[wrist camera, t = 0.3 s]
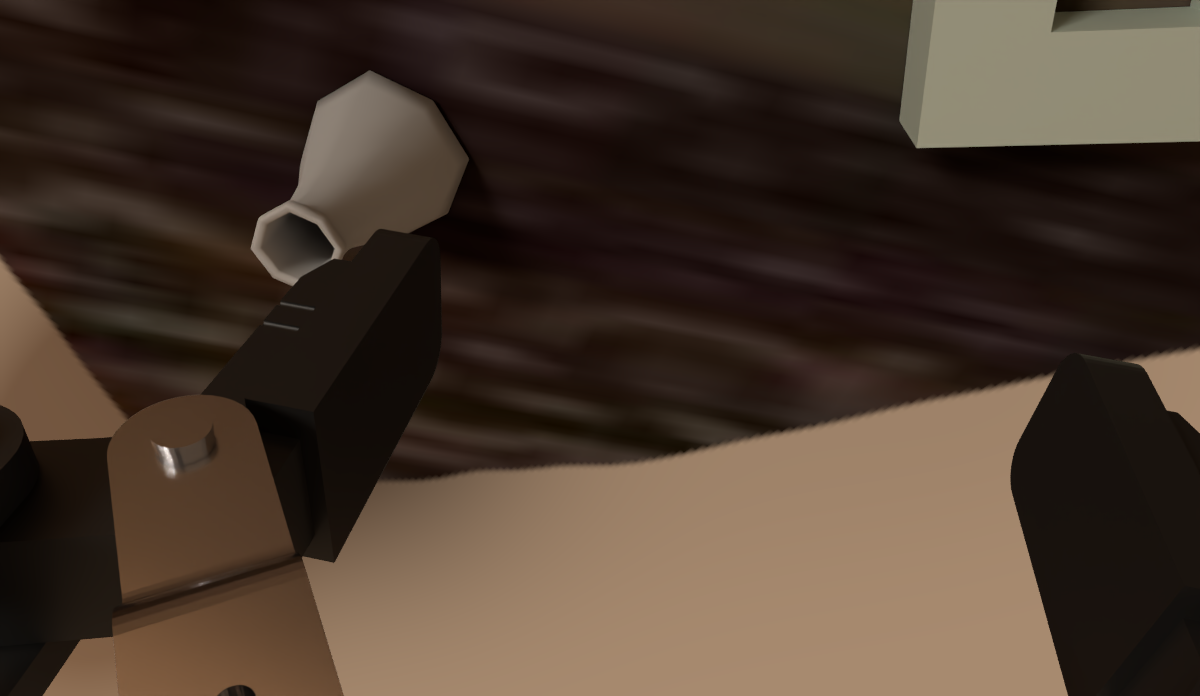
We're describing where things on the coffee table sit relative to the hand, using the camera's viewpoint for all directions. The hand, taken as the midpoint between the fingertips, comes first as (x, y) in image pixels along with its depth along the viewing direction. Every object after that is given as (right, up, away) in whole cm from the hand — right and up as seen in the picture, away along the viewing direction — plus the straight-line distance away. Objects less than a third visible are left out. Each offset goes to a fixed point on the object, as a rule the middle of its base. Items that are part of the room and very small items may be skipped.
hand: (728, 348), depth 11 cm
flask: (-11, +9, +28) cm, 31 cm away
